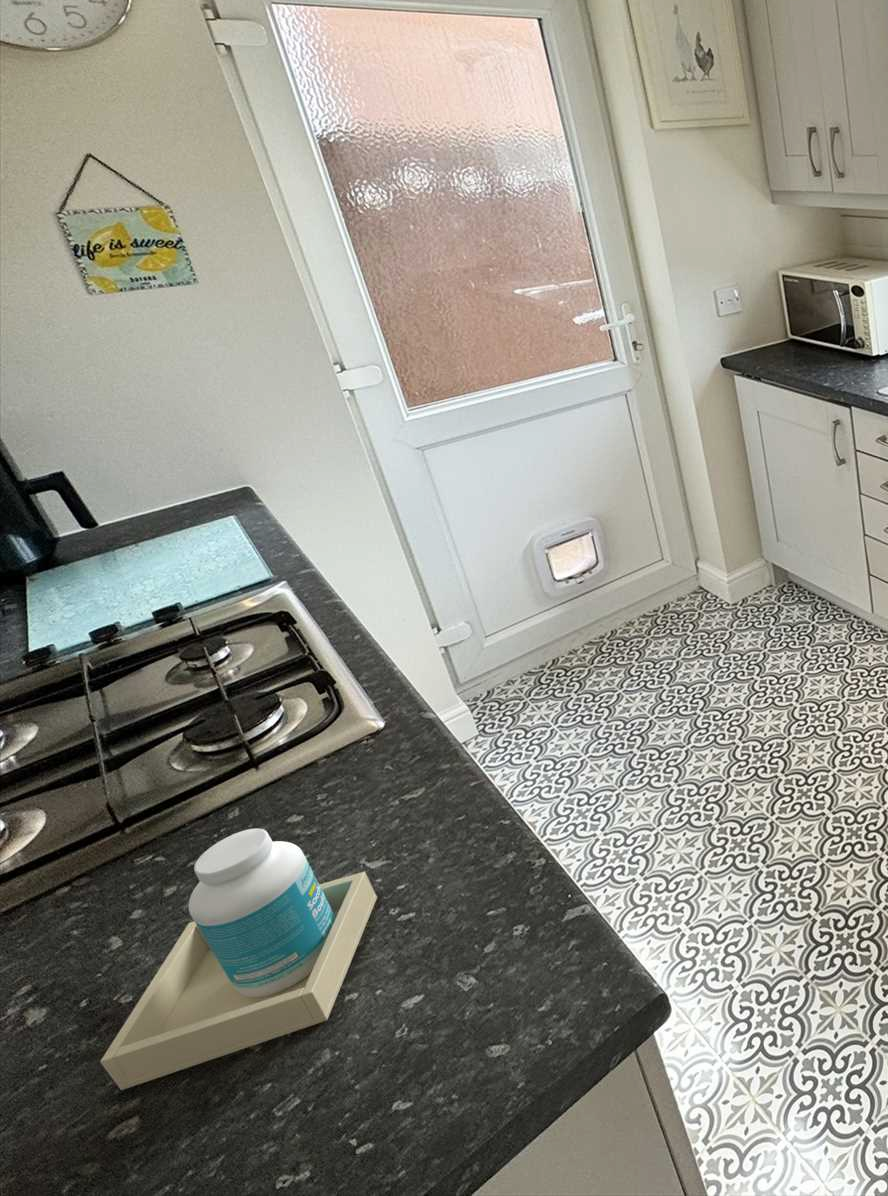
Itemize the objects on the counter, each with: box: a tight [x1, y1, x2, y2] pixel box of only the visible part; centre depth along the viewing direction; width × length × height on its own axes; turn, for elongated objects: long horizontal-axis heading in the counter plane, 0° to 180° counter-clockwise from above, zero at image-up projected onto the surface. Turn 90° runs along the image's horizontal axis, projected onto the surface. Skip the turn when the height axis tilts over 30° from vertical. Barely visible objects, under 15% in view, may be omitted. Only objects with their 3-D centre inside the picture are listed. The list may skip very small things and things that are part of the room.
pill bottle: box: [188, 828, 336, 997], centre depth 68 cm, size 8×7×14 cm
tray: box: [100, 871, 378, 1091], centre depth 69 cm, size 14×13×4 cm
